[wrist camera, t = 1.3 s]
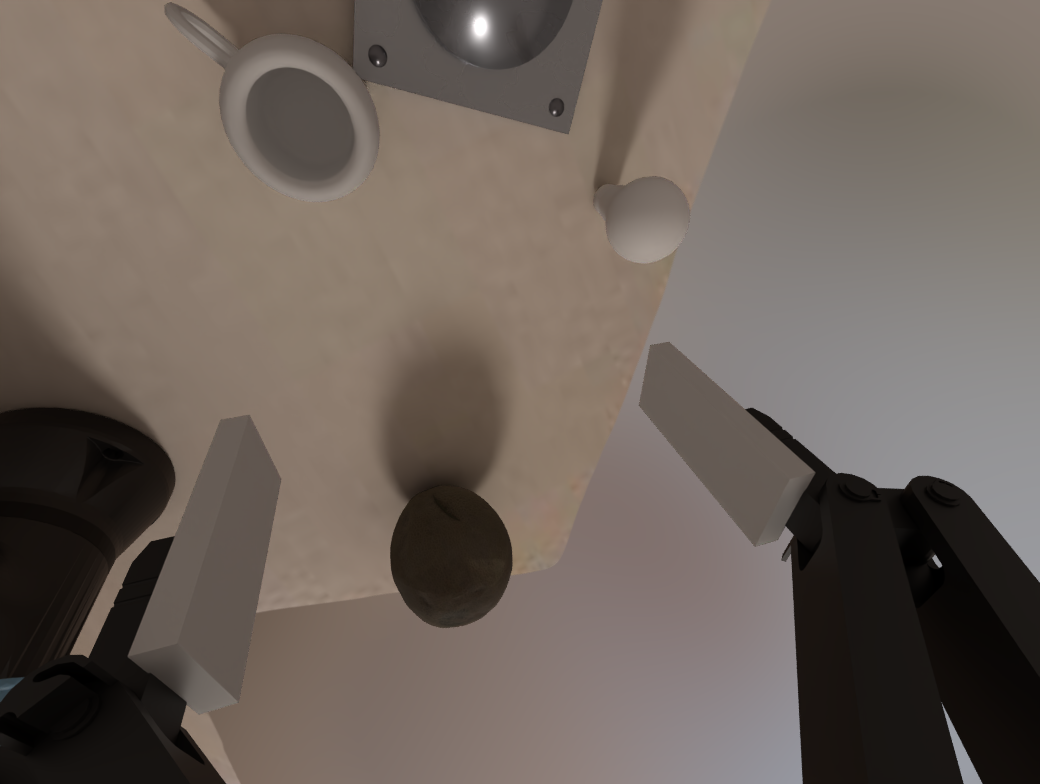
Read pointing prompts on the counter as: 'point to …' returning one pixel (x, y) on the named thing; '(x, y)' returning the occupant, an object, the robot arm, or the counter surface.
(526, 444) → the counter surface
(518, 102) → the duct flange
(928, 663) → the robot arm
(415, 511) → the coconut
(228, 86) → the mug
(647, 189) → the lightbulb
